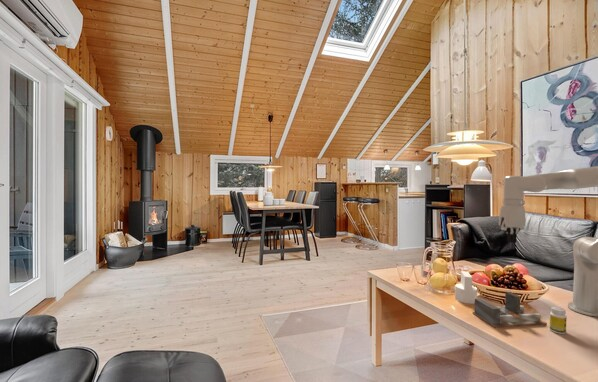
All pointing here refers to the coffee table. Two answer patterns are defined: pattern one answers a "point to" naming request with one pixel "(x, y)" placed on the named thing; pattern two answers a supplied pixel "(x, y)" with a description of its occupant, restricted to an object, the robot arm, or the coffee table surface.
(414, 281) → the coffee table surface
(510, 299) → the l-shaped angle bracket
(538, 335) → the coffee table surface
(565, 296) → the coffee table surface
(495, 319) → the gauge base
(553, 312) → the supplement bottle
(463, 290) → the cylinder with rectangular tab
